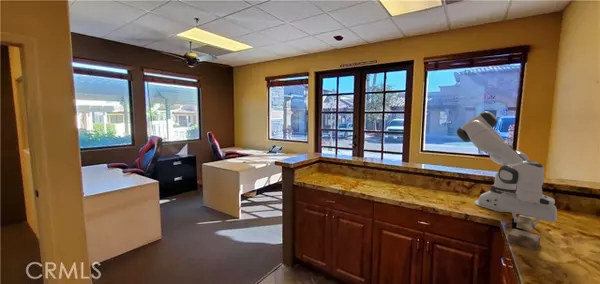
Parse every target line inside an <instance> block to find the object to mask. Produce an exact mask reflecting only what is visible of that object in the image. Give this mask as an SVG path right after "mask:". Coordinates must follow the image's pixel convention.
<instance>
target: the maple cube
mask: <svg viewBox="0 0 600 284" xmlns="http://www.w3.org/2000/svg"><path fill="white" fill-rule="evenodd" d="M534 219H535V218H533V217H527V216H523V215H519V216H518V218H517V228H521V229H524V230H523V231H527V232H531V231H532V230H533V228H534V227H532V223H533V222H534Z"/></svg>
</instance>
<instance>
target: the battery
mask: <svg viewBox="0 0 600 284" xmlns="http://www.w3.org/2000/svg"><path fill="white" fill-rule="evenodd" d="M519 215H521V214H516V217H517V218H518V216H519ZM523 216H525V215H523ZM527 217H529V216H527ZM511 220H512V221H511V229H512V230H513V229H518V230H521V231H525V230H524V229H521V228H517V223H516V222H514V218H513V217H512V219H511Z"/></svg>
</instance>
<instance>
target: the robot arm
mask: <svg viewBox="0 0 600 284" xmlns="http://www.w3.org/2000/svg"><path fill="white" fill-rule="evenodd" d="M497 119H498V118H497V117H496V116H495V114H494V113H492V112H490V111H486V110H485V111H482V112H480V113H479V114H478V115H475V116H474V117H472V118H471V119H469V120H468V121H467V122H466V123H464V124H462V126H459V128H457V130H456V135H457V137H458V139H459V140H460V141H463V142H464V143H469V142H471V143H472V144H473V145H474V147H475V148H477V149H478V150H479V151H481V152H484V153H488V154H489V158H490V160H491V161H493V162H494V163H496V164H497V165H501V166H500V168H499V169H498V171H497V173H496V174H495V176H494V177H495V178H494V183H493V184H491V185H490V186H489V189H490V190H488V191H486V192H484V193H481V194H480V195H479V197H478V199H476V200H475V201H474V202H473V205H475V206H478V207H483V208H484V209H489V210H492V211H495V212H499V213H504V212H505V213H511V215H512V219H513V218H514V222H516V223H517V217H516V214H521V215H525V216H529V217H531V218H534V219H535V222H534V221H533V223H532V227H533V228H537V224H539V223H540V222H541V220H542V221H545V222H549V223H555V222H556V221H557V218H558V211H557V210H558V209H557V206H556V205H555V204H556V200H555V198H553V197H551V196H548V195H545V194H543V188H542V187H543V184H544V182H545V181H544V180H545V169H544V165H543V164H542V163H540V162H537V161H533V160H530V158H529V156H528V155H527V154H526V153H524V152H522V151H519V150H515V149H514V148H513V147H512V146H511V145H510V144H508V143H506V142H505V139H504V138H503V137H502V135H500V134H499V133H498V132H497V130H496V129H494V127H495V126H496V125H497V123H498V120H497Z"/></svg>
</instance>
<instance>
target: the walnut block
mask: <svg viewBox="0 0 600 284" xmlns="http://www.w3.org/2000/svg"><path fill="white" fill-rule="evenodd" d="M540 242H541V235H540V234H539V235H538V234H535V233H532V232H529V231H526V230H522V231H521V230H518V229H513V228H512V230H510V232H509V233H508V236H507V243H510V244H513V245H516V246H519V247H523V248H526V249H529V250H532V251H535V252H536V251H537V249H538V248H539V246H540V244H541V243H540Z"/></svg>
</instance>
